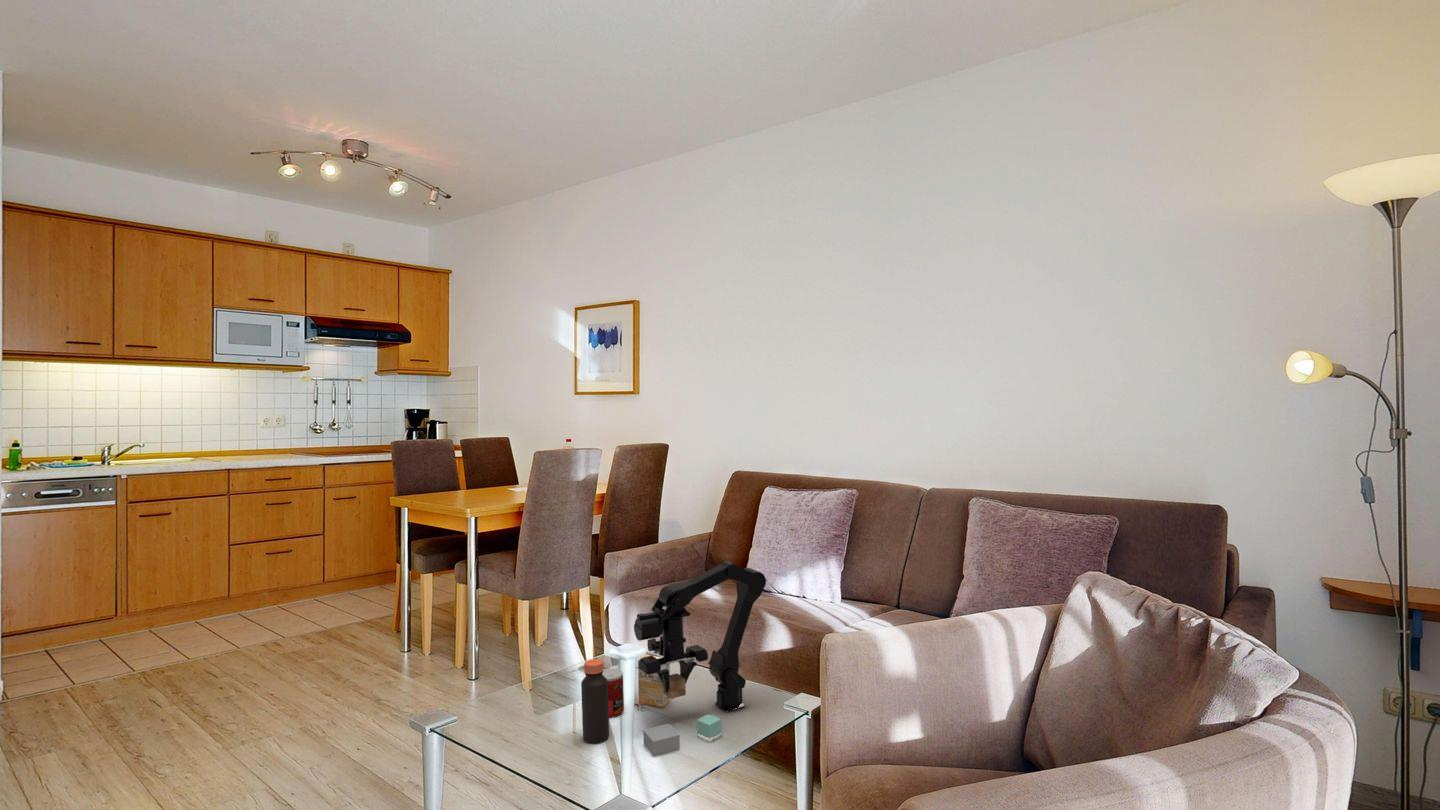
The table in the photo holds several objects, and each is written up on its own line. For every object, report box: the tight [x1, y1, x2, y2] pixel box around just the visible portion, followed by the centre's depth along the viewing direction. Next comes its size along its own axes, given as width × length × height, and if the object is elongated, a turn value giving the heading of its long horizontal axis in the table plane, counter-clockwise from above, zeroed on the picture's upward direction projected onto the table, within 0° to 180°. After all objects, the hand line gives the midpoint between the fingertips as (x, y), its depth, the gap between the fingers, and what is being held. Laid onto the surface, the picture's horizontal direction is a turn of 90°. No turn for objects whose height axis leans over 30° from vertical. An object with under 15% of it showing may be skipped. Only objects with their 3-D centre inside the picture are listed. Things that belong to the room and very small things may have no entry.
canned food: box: [602, 667, 625, 719], centre depth 209 cm, size 8×8×11 cm
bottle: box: [580, 658, 610, 744], centre depth 194 cm, size 7×7×20 cm
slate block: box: [642, 723, 681, 758], centre depth 189 cm, size 7×7×4 cm
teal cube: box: [696, 714, 723, 738], centre depth 194 cm, size 4×4×4 cm
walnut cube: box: [663, 673, 687, 700], centre depth 203 cm, size 4×4×4 cm
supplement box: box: [637, 653, 671, 709], centre depth 214 cm, size 8×5×13 cm, turn 67°
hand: (674, 690), depth 203 cm, fingers closed on walnut cube, 4 cm apart
